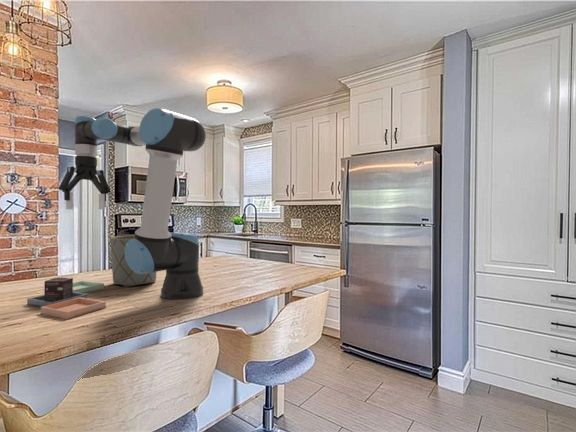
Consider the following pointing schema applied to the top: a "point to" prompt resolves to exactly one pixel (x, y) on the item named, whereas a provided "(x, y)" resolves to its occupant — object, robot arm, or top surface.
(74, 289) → the tray
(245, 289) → the top surface
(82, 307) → the tray
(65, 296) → the box
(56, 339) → the top surface
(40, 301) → the tray
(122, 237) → the planter
